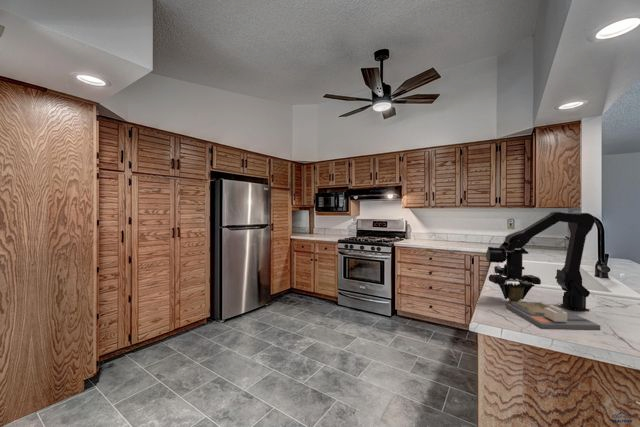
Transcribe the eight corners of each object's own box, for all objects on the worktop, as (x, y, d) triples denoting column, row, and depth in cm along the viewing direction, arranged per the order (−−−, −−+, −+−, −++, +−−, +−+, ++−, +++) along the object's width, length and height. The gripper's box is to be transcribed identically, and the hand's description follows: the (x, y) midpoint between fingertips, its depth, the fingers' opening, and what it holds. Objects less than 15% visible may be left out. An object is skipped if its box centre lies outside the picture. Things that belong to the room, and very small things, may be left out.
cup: (528, 306, 115) (528, 287, 115) (508, 305, 116) (508, 286, 116) (518, 300, 122) (519, 283, 122) (500, 299, 124) (500, 282, 124)
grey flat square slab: (553, 308, 113) (553, 304, 113) (600, 329, 93) (600, 325, 93) (506, 307, 114) (506, 303, 114) (541, 328, 94) (542, 323, 94)
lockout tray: (540, 305, 113) (540, 302, 113) (564, 316, 101) (564, 312, 101) (511, 304, 113) (511, 301, 113) (531, 315, 102) (531, 312, 102)
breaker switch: (555, 316, 100) (555, 305, 100) (567, 322, 95) (567, 310, 95) (544, 316, 100) (544, 304, 100) (555, 321, 95) (555, 309, 95)
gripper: (524, 260, 126) (523, 293, 127) (482, 259, 128) (482, 292, 128) (542, 265, 115) (541, 301, 116) (496, 264, 117) (495, 301, 117)
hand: (513, 299), depth 119 cm, fingers closed on cup, 6 cm apart
